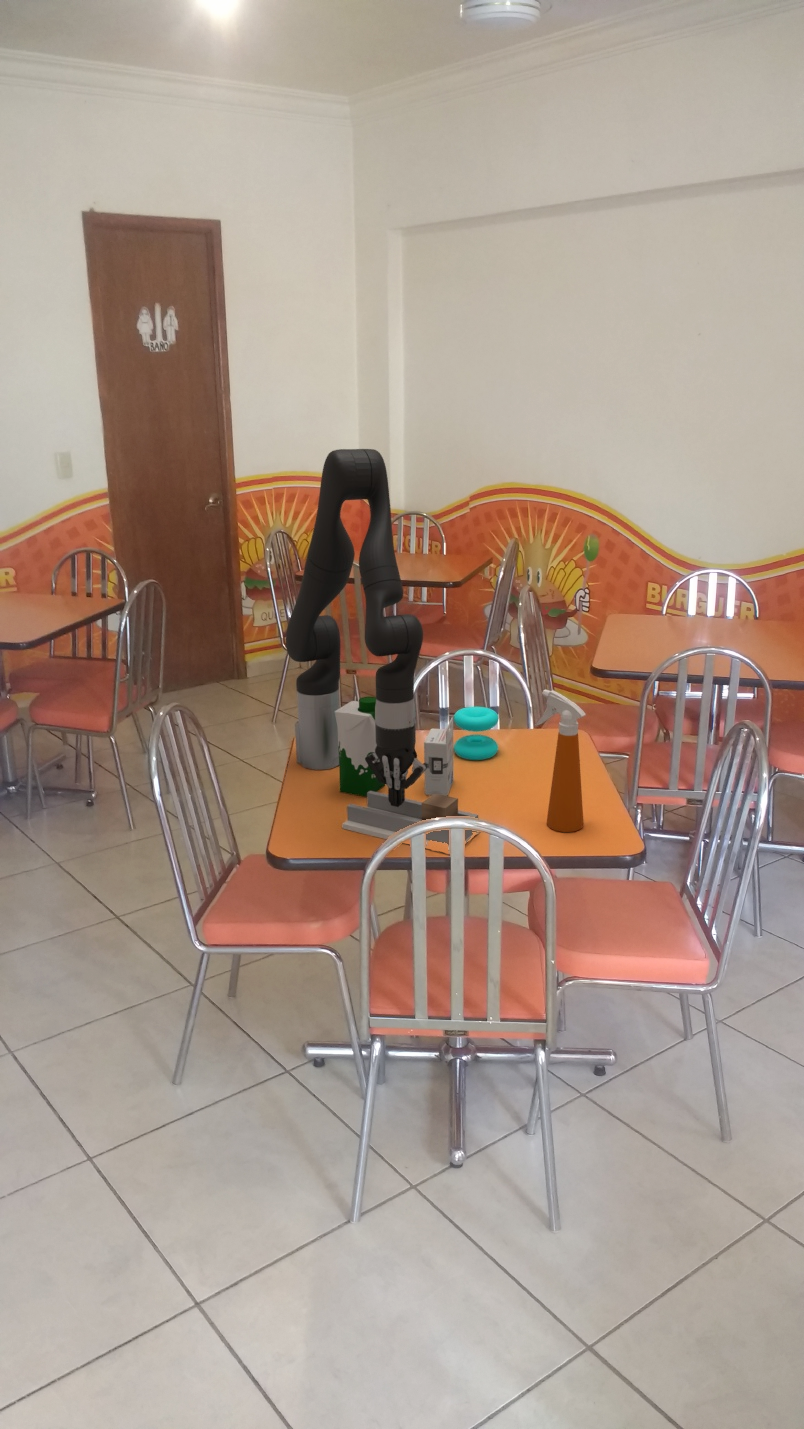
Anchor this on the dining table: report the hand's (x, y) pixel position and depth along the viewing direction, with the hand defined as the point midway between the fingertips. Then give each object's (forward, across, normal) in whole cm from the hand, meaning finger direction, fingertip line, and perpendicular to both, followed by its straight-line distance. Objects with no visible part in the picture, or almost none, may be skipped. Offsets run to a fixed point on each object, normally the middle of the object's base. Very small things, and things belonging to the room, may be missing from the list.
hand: (396, 804), depth 199 cm
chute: (+4, +4, 0) cm, 5 cm away
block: (+3, +10, -1) cm, 10 cm away
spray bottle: (+4, +27, +15) cm, 31 cm away
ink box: (+4, -1, +20) cm, 20 cm away
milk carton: (+5, -15, +12) cm, 20 cm away
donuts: (+5, -3, +41) cm, 41 cm away
